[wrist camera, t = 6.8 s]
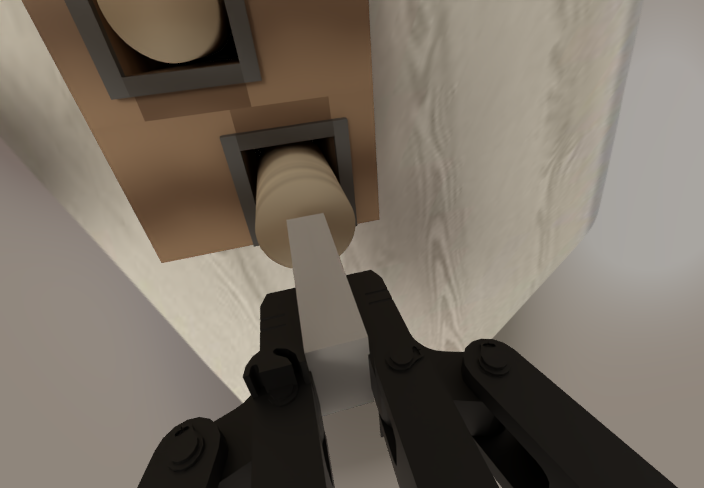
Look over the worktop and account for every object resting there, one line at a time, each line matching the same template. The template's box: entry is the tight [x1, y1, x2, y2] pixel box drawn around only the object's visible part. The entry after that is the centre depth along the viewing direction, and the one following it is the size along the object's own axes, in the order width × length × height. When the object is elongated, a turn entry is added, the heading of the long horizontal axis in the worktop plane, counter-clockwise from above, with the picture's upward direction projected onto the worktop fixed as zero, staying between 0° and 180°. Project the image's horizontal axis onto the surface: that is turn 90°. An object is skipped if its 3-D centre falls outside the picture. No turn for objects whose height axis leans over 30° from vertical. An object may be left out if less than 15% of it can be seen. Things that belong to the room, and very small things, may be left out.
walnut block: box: [22, 0, 379, 263], centre depth 19 cm, size 16×14×8 cm
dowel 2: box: [255, 140, 355, 268], centre depth 18 cm, size 4×4×8 cm
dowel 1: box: [97, 0, 232, 63], centre depth 16 cm, size 4×4×8 cm
